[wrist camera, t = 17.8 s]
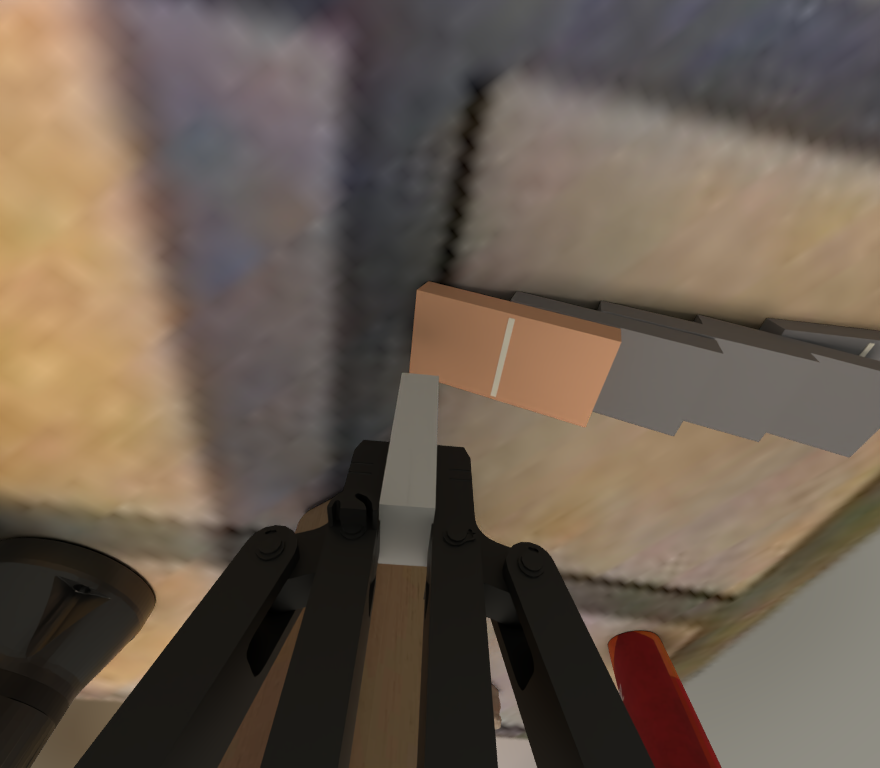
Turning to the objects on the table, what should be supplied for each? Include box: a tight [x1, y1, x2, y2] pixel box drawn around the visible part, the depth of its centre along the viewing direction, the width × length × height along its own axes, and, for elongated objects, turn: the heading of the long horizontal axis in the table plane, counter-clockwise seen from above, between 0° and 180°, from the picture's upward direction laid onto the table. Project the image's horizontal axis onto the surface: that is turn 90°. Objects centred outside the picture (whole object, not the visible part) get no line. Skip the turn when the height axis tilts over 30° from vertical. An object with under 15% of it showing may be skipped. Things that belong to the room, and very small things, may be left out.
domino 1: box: [510, 291, 724, 436], centre depth 21 cm, size 2×5×10 cm
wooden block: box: [218, 499, 427, 768], centre depth 24 cm, size 10×10×20 cm
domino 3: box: [759, 318, 880, 361], centre depth 23 cm, size 2×5×10 cm
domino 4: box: [694, 314, 880, 458], centre depth 22 cm, size 2×5×10 cm
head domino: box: [409, 281, 622, 427], centre depth 21 cm, size 2×5×10 cm
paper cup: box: [608, 631, 721, 768], centre depth 38 cm, size 8×8×14 cm
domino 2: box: [597, 301, 820, 442], centre depth 21 cm, size 2×5×10 cm
